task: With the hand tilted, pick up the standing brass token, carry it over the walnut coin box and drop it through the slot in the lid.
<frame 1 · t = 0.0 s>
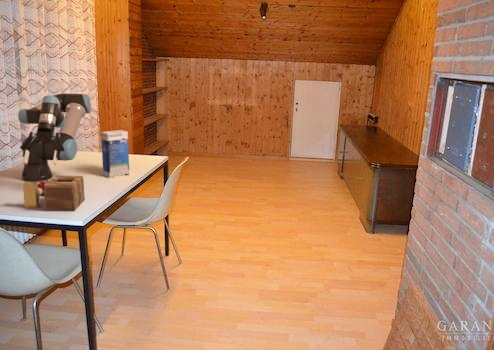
hand: (40, 163, 204), 15 cm above the table, tool tilted 35°, fingers open, 13 cm apart
coin box: (66, 205, 193), on the table
string lights box: (116, 175, 247), on the table
multicolored rounded segment toy: (46, 194, 208), on the table
token: (32, 206, 190), on the table
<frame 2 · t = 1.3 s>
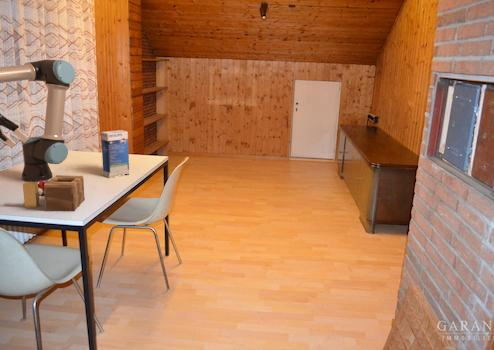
hand: (20, 143, 190), 27 cm above the table, tool tilted 45°, fingers open, 13 cm apart
nothing on the table moved.
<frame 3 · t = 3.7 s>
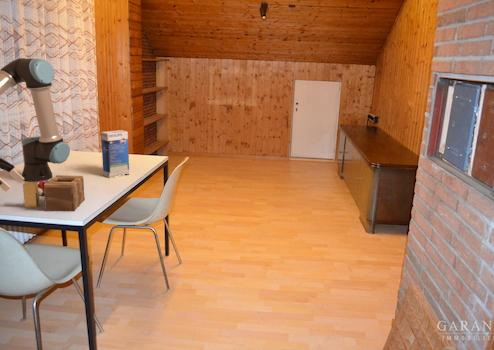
hand: (15, 185, 186), 10 cm above the table, tool tilted 45°, fingers open, 13 cm apart
nothing on the table moved.
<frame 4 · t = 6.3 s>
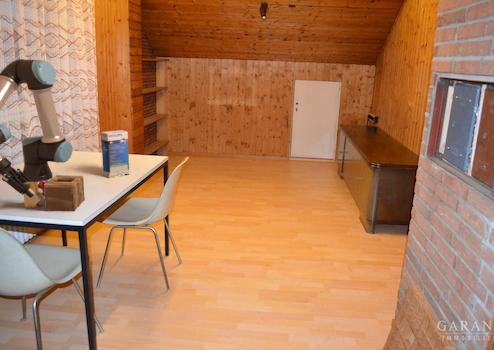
hand: (40, 199, 189), 3 cm above the table, tool tilted 45°, fingers closed on token, 3 cm apart
token: (32, 206, 190), on the table, touching gripper
everything else where it was.
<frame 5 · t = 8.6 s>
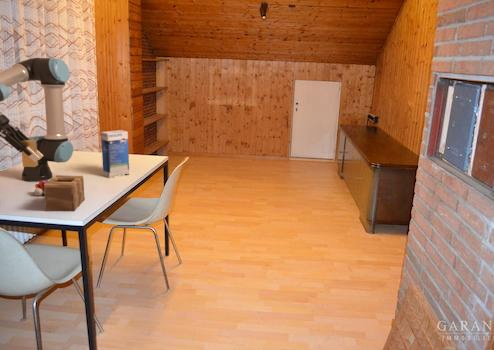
hand: (39, 158, 184), 22 cm above the table, tool tilted 45°, fingers closed on token, 3 cm apart
token: (30, 165, 185), point 19 cm above the table, touching gripper
everything else where it was.
when the fingers open (16 cm above the table, at t = 11.1 s): token drops 12 cm, resting on coin box.
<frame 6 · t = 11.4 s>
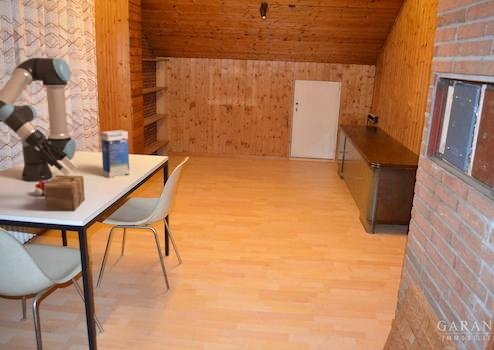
hand: (71, 171, 189), 16 cm above the table, tool tilted 45°, fingers open, 8 cm apart
token: (65, 203, 193), point 1 cm above the table, touching coin box
everything else where it was.
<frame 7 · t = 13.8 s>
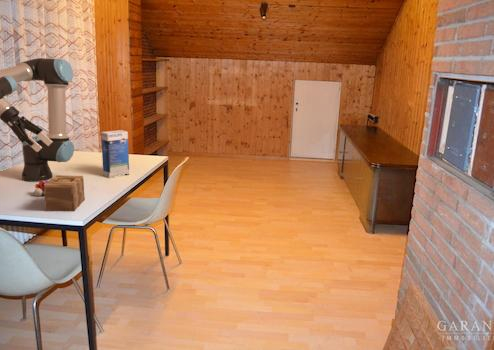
hand: (45, 146, 186), 27 cm above the table, tool tilted 45°, fingers open, 13 cm apart
nothing on the table moved.
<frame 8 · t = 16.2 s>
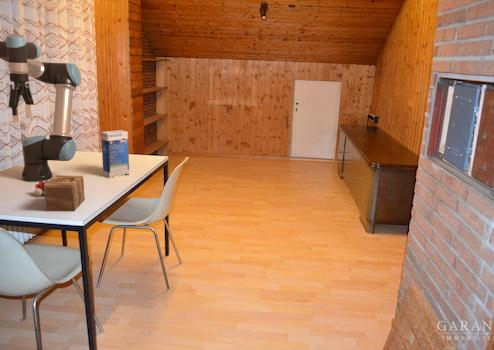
hand: (23, 120, 193), 37 cm above the table, tool pointing down, fingers open, 13 cm apart
nothing on the table moved.
at the end: token inside the target area on the coin box (0.0 cm from its centre), point 0.8 cm above the coin box's base; the gripper is holding nothing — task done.
